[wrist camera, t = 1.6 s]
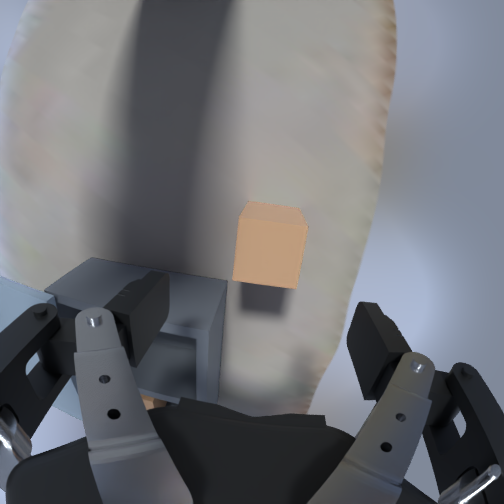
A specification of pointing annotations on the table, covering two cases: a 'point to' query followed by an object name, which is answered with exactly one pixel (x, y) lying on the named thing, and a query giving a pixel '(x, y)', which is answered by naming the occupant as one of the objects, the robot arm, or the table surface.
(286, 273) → the light orange block
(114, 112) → the table surface
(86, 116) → the table surface
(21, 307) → the lid
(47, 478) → the robot arm
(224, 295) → the housing
